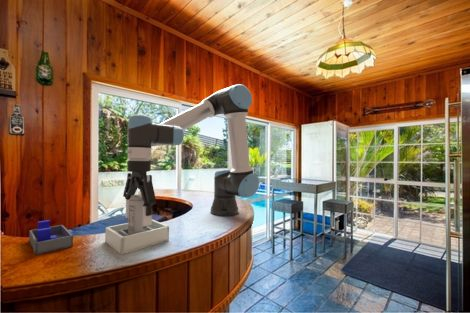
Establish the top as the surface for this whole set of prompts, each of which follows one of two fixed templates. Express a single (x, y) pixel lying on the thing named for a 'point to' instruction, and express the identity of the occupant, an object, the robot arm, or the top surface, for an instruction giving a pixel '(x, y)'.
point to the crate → (135, 237)
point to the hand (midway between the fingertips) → (137, 221)
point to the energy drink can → (135, 215)
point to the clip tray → (60, 242)
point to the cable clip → (44, 231)
